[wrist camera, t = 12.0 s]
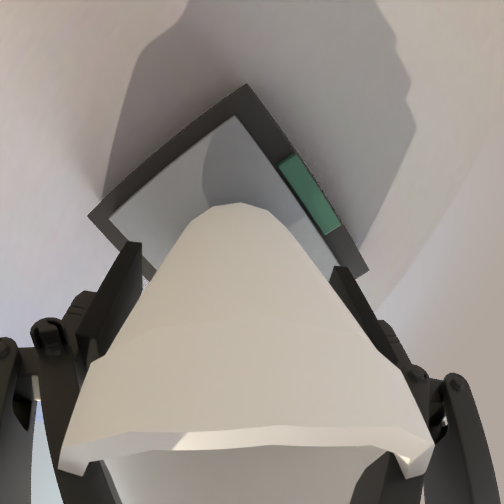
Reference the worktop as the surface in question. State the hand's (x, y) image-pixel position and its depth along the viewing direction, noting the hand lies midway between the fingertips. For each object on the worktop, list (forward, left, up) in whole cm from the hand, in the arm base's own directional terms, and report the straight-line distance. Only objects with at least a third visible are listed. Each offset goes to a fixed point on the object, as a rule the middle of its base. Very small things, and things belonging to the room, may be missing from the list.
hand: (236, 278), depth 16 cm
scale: (0, 0, -6) cm, 6 cm away
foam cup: (0, 0, -2) cm, 2 cm away
